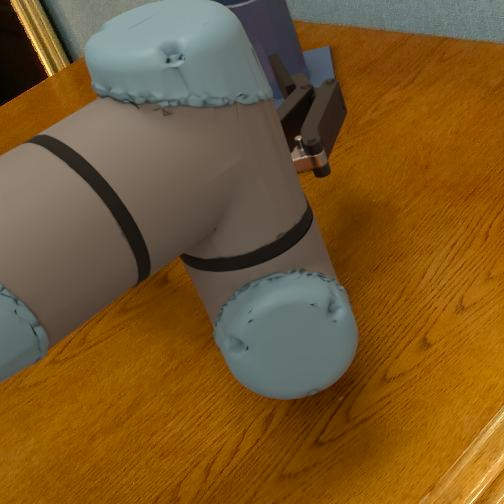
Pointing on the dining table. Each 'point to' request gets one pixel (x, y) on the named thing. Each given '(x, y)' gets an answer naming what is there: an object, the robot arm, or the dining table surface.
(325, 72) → the blue mat
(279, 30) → the blue cup
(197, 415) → the dining table surface
